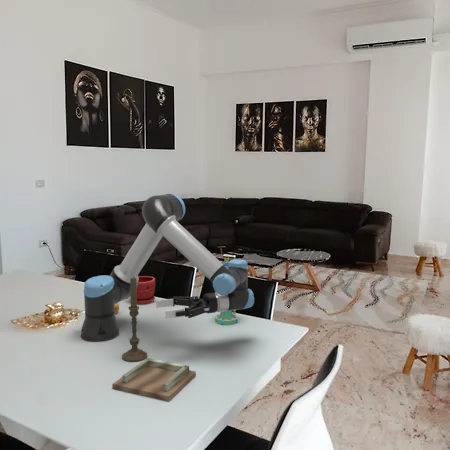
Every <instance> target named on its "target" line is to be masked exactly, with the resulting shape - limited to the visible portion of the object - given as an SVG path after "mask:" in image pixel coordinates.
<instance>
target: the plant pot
mask: <svg viewBox="0 0 450 450" xmlns="http://www.w3.org/2000/svg"><path fill="white" fill-rule="evenodd" d="M138 278H139V280H138V282H137V305H139V304H140V305H145V304H149V303H152V302H154V301H155V297H156V296H155V295H154V294H155V291H156V278H155V277H153V276H148V275H143V276H142V275H141V276H140V275H139V276H138Z"/></svg>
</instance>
